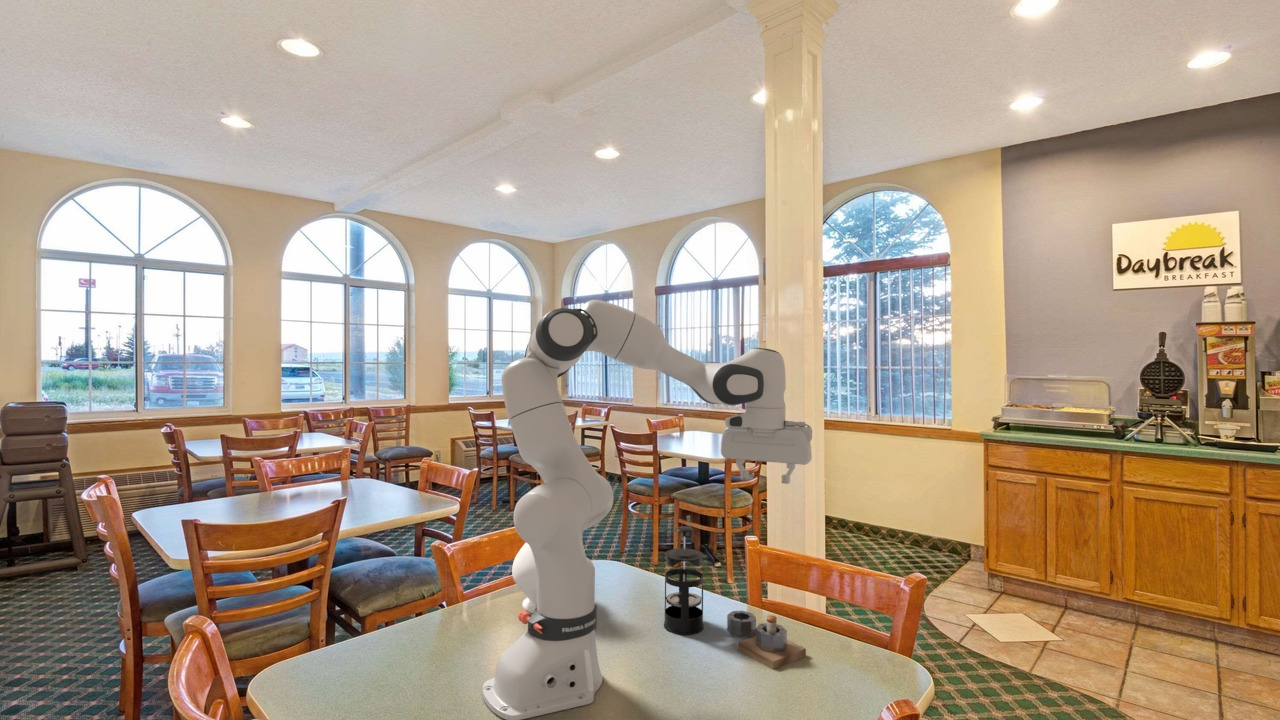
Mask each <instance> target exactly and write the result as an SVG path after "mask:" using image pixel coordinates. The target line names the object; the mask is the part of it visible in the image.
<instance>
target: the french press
mask: <svg viewBox="0 0 1280 720" xmlns="http://www.w3.org/2000/svg"><path fill="white" fill-rule="evenodd" d="M675 531H677V532H680V533H682V537H683V547H682V548H672V549H668V550H667V551H665V554H664V555H665V557H666V564H667V565H668V566H669V567H674V566H676V565H677V564H680V563H682V562H683V567H682V566H680V567H679V568H672V569H670V570H667V571H666V572H665V574H664V621H663V628H664V629H665V630H666V631H668V632H669V633H672V634H675V635H681V636H690V635H696V634H698V633H701V632H702V631H703V629H704V627H705V626H704V573H702V572H701V571H699V570H695V569H691V568H687V566H686V562H688V563H690V564H693V566H696V567H700V566H702V560H703V558H704V552H702V551H700V550H696V549H692V548H686V537H687V535H688V533H691V532H693V531H694V528H692V527H690V526H678V527H676V528H675ZM676 575H678V580H676V579H672V578H670V577H672V576H676ZM687 575H689V576H694V577H697V578H699V579H696V580H690V581H687V580H688V576H687ZM667 584H668V585H669V586H673V587H675V588H676V587H678V591H676V592H672V593H670V594H668V595H667ZM699 586H701V596H700V595H698V594H696V593H692V592H690V588H694V587H696V588H697V587H699ZM667 604H668V605H669V606H668V607H667ZM700 605H701V607H700V608H699V607H698V606H700Z"/></svg>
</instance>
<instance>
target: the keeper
mask: <svg viewBox="0 0 1280 720" xmlns="http://www.w3.org/2000/svg"><path fill="white" fill-rule="evenodd" d="M777 622H778V621H777V616H775V615H771V614H770V615H767V616H766V623H767V632H769V633H776V624H777ZM737 650H738V651H739V652H741V653H743V654H744V655H746V656H748V657H750V658H752V659H754V660H756V661H757V662H759V663H761V664H763V665H764V666H767V667H768V668H770V669H772V670H774V669H777V668H779V667H781V666H784V665H787V664H789V663H792V662H794V661H796V660H799V659H801V658H803V657H807V649H806V648H805V647H803V646H801V645H799V644H797V643H795V642H793V641H791V640H789V639H787V647H786V648H785V650H784V651H783V652H776V653H771V652H767V651H763V650H761V649H760V648H758V647H757V646H756V635H755V636H752V637H749V638H747V639H744V640H741V641H739V642H737Z"/></svg>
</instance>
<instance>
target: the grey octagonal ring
mask: <svg viewBox="0 0 1280 720" xmlns="http://www.w3.org/2000/svg"><path fill="white" fill-rule="evenodd" d="M726 617H727V620H726V622H727V625H726V626H727V627H726V630H727V632H728V634H730V635H731V636H734V637H737V638H752V637H754V635H756V627H757V617H756V615H754V613H752V612H749V611H745V610H732V611H730V612H729V613H728V614H727V616H726Z"/></svg>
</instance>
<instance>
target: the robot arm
mask: <svg viewBox="0 0 1280 720" xmlns="http://www.w3.org/2000/svg"><path fill="white" fill-rule="evenodd" d="M585 352H597V353H601V354H603V355H604V356H605V357H608V358H610V359H613V360H615V361H618V362H619V363H622V364H625V365H628V366H631V367H635V368H639V369H642V370H643V369H645V370H653V371H657V372H660V373H662V374H664V375H666V376H669V377H671V378H672V379H675V380H677V381H679V382H681V383H683V384H685V385H687V386H688V387H690V388H691V389H692V390H693V392H694V393H695V394H696V395H697V396H698V398H700V399H701V400H702V401H703V402H704V403H707V404H711V405H723V406H730V407H733V406H734V407H735V406H738V405H741V404H742V405H743V404H745V411H744V412H739V413H737V414H736V415H730V416H728V417H726V418H725V420H724V424H725V426H726V428H725V429H723V431H722V435H721V441H720V454H721V456H722V457H723V458H724V459H731V460H735V464H736V467H737V469H738V470H739V472H740V480H746V481H747V480H749V479H750V471H749V470H746V468H745V466H744V463H745V461H752V462H753V461H755V462H766V463H779V464H786V469H788V470H787V472H786V473H785V474H782V475H781V484H785V485H787V484H788V485H789V484H790V483H791V475H792V473H793V472H794V471H795V469H796V465H800V466H801V465H804V466H806V465H808V464H809V463H810V462H811V461H812V459H813V455H812V446H811V440H812V439H813V430H812V427H811V425H809V424H808V423H806V422H805V421H793V420H786V402H785V393H786V392H785V391H786V383H787V382H786V381H787V380H786V379H787V378H786V377H787V376H786V366H785V361H784V357H783V355H782V354H781V353H780V352H779V351H777V350H774V349H770V348H763V347H762V348H761V347H751V348H750V349H749V350H748V351H747V352H745V353H743V354H742V355H739V356H738V357H736V358H734V359H732V360H729V361H726V362H718V361H709V362H708V361H701V360H698V359H696V358H694V357H692V356H690V355H688V354H687V353H684V352H682V351H680V350H678V349H676V348H674V347H673V346H672V345H671V344H669V343H668V341H667V340H666V338H665V334H664V332H663V330H662V329H661V327H660V326H658V325H657V324H655V323H654V322H653V321H651V320H649V319H648V318H647V317H645V316H643V315H640V314H638V313H637V312H634V311H632V310H631V309H628V308H625V307H623V306H620V305H617V304H614V303H610V302H608V301H604V300H599V299H590V300H588V301H587V302H585V303H583V304H582V306H581V307H579V308H567V307H565V308H564V307H562V308H561V307H560V308H556V309H553V310H550V311H548V312H547V313H546V314H544V315H543V316H541V318H540V320H539V321H538V323H537V325H536V326H535V327H534V328H533V330H532V332H531V335H530V337H529V340H528V343H527V346H526V348H525V353H524V357H523V358H518V359H516V360H514V361H512V362H511V363H509V364H508V365H507V366H505V368H504V370H503V371H502V374H501V378H500V379H501V388H502V389H501V390H502V394H503V401H504V406H505V409H506V414H507V417H508V418H507V419H508V421H509V424H510V427H511V429H512V433H513V436H514V440H515V444H516V446H517V450H518V453H519V455H520V457H521V459H522V460H523V461H524V462H525V463H526V464H528V465H530V466H532V468H533V469H534V470H535V471H536V472H537V473H538V475H539V476H540V478H541V479H542V481H543V483H542V484H539V485H537V486H535V487H533V488H532V489H531V490H529V491H528V492H527V493H525V494H524V495H523V496H522V497H520V498H519V500H518V501H517V502H516V504H515V507H514V511H513V518H512V519H513V525H514V528H515V530H516V533H517V534H518V536H519V537H520V539H522V541H524V543H528V544H529V546H530V548H531V550H532V553H533V556H534V560H535V564H536V572H537V606H536V608H535V610H534V612H533V613H531V614H530V612H528V611H526V610H525V609H522V610H521V611H519V613H518V615H517V619H518V620H519V621H520V623H522V624H523V625H527V629H526V631H524V632H523V634H521V635H520V636H519V637H518V638H517V639H516V640H515V641H514V642H513V643H512V644H511V645H510V646H509V647H508V648H506V650H505V651H504V652H503V653H502V654H501V655H500V656H499V657H498V661H497V663H496V668H495V673H494V677H492V678H491V679H488V680H485V681H484V683H483V686H482V690H481V696H482V699H483V701H484V703H485V704H486V706H487V707H488V709H490V711H492V713H494V714H495V715H496V716H498V717H500V718H501V719H504V720H526V719H529V718H534V717H538V716H543V715H547V714H551V713H556V712H561V711H565V710H568V709H572V708H577V707H582V706H586V705H589V704H592V703H593V702H594V700H595V694H596V692H597V691H598V690H599V689H600V688H601V686H602V683H603V676H602V673H601V669H600V664H599V657H598V653H597V652H598V651H597V643H596V631H597V625H598V624H597V623H598V614H597V613H598V612H597V610H598V609H597V605H596V603H595V601H596V600H595V599H596V598H595V597H596V596H595V594H596V593H595V592H596V591H595V589H596V587H595V586H596V581H595V580H596V569H595V565H594V563H593V561H592V560H591V559H590V558H588V557H587V556H586V551H585V547H584V544H583V542H584V541H583V534H584V532H585V531H586V530H588V529H590V528H592V527H594V526H596V525H597V524H599V523H600V522H601V521H602V520H603V519H604V518H605V517H606V516H607V515H608V514H609V513H610V511H611V509H612V507H613V504H614V498H615V497H614V490H613V487H612V485H611V484H610V482H609V481H608V480H607V478H605V477H604V476H603V475H601V473H598V472H597V470H596V469H595V468H594V467H593V466H592V464H591V462H590V461H589V460H588V458H587V457H586V455H585V453H584V452H583V449H582V448H581V447H580V445H579V443H578V441H577V438H576V436H575V433H574V431H573V427H572V426H571V421H570V420H569V417H568V414H567V411H566V408H565V404H564V402H563V398H562V396H561V394H560V391H559V387H558V378H560V377H562V376H563V375H565V374H566V373H567V372H568V371H570V369H571V368H573V366H575V365H576V364H577V363H578V362H579V361H580V360H581V358H582V356H583V354H584V353H585Z"/></svg>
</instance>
